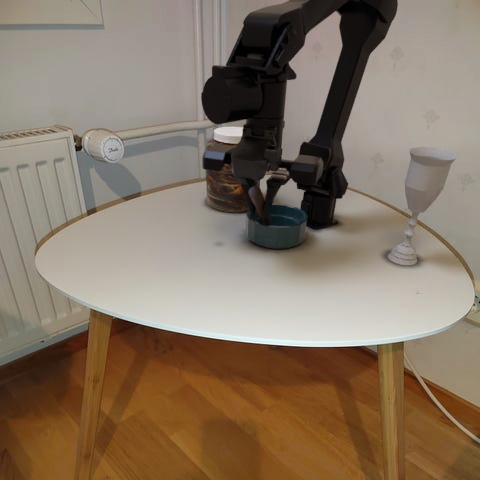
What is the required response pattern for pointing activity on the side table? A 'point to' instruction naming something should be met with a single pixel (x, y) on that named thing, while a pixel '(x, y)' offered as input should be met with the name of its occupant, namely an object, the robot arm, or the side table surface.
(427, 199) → the chalice
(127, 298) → the side table surface
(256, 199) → the stick
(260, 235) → the bowl
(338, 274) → the side table surface
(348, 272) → the side table surface
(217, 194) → the jar
